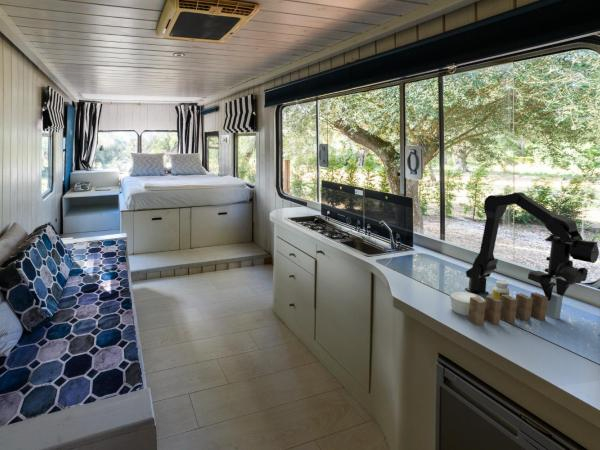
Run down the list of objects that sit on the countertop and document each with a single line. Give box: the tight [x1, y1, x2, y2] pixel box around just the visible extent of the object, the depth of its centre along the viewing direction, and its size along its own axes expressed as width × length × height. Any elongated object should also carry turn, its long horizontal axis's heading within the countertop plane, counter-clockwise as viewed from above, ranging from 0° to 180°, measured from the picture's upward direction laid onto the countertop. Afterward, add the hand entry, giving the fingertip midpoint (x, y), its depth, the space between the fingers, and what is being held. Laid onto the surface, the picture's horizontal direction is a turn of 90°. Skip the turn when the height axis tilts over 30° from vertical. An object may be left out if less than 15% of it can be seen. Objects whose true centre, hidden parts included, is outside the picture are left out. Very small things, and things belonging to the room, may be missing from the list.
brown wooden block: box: [500, 294, 517, 324], centre depth 139 cm, size 5×2×8 cm, turn 13°
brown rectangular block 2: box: [530, 292, 548, 321], centre depth 142 cm, size 5×2×8 cm, turn 13°
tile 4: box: [484, 295, 502, 325], centre depth 138 cm, size 5×2×8 cm, turn 13°
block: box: [546, 291, 564, 320], centre depth 143 cm, size 5×2×8 cm, turn 13°
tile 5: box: [467, 297, 486, 327], centre depth 136 cm, size 5×2×8 cm, turn 13°
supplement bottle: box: [491, 279, 510, 300], centre depth 149 cm, size 5×5×10 cm
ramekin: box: [449, 291, 486, 317], centre depth 146 cm, size 11×11×5 cm
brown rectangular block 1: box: [515, 293, 533, 322], centre depth 140 cm, size 5×2×8 cm, turn 13°
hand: (553, 299), depth 143 cm, fingers open, 4 cm apart
